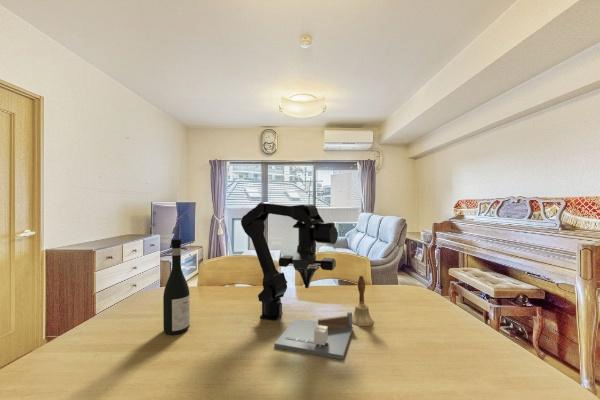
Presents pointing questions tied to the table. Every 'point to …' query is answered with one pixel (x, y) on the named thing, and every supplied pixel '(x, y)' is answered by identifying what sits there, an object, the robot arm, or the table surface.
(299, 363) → the table surface
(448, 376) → the table surface
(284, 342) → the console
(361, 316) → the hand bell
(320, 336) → the fader
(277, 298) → the robot arm
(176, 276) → the wine bottle
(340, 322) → the door
